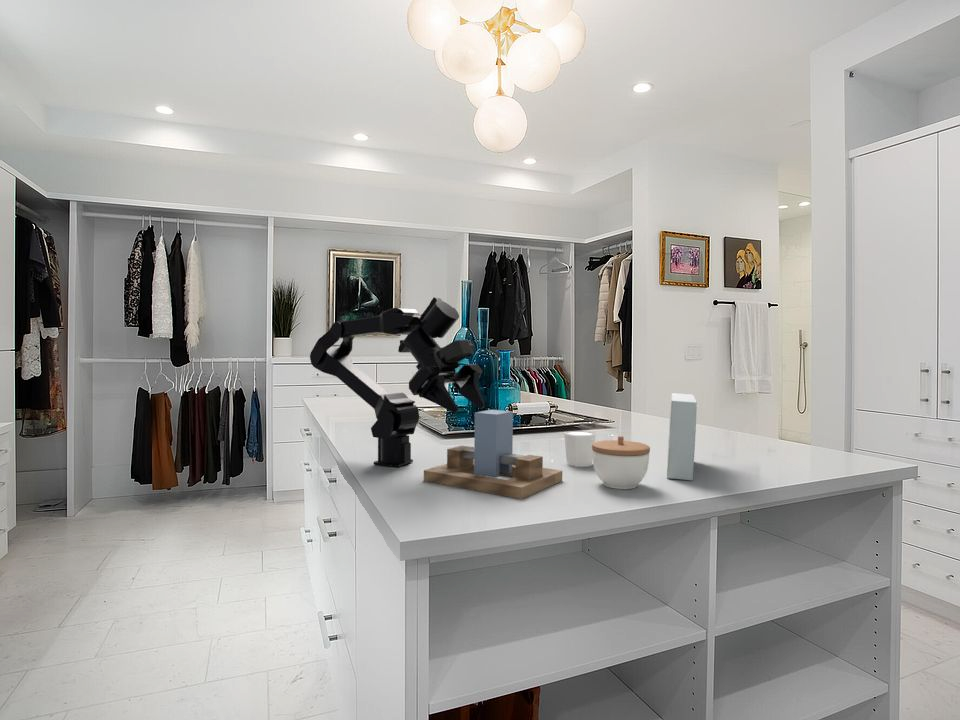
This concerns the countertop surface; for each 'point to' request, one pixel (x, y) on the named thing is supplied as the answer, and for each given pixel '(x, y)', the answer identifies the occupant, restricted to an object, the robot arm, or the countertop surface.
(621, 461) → the lidded jar
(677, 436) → the skincare box
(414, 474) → the countertop surface
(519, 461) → the wooden block stand
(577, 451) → the white cup
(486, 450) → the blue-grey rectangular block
